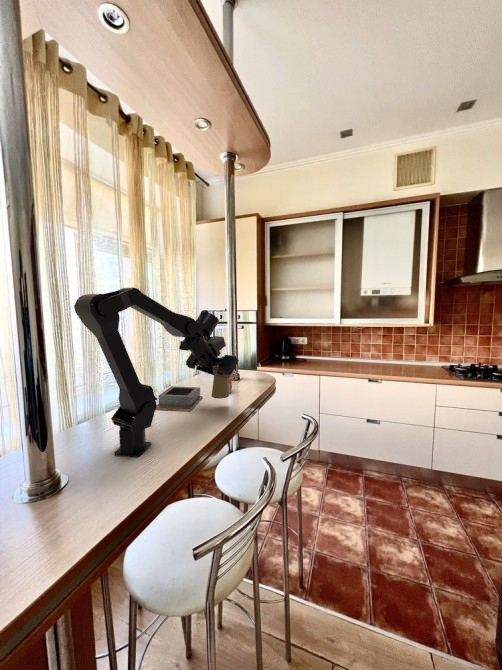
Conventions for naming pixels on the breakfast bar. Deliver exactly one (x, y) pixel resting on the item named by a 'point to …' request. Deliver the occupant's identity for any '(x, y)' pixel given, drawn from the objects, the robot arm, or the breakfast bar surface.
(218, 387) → the olive pawn
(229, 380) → the soda can
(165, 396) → the square holder
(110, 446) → the breakfast bar surface
